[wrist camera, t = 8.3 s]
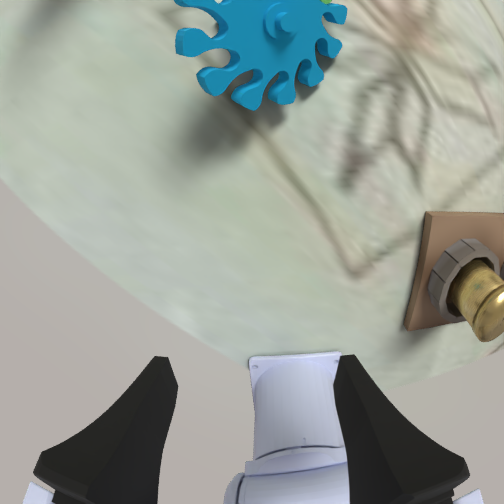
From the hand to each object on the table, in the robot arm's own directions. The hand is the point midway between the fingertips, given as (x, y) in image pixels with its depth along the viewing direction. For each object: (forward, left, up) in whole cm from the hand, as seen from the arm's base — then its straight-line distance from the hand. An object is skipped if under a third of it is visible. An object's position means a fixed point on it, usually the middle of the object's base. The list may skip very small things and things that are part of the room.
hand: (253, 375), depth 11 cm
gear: (+15, -2, -10) cm, 18 cm away
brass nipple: (-1, -16, -8) cm, 18 cm away
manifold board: (-1, -20, -9) cm, 22 cm away
